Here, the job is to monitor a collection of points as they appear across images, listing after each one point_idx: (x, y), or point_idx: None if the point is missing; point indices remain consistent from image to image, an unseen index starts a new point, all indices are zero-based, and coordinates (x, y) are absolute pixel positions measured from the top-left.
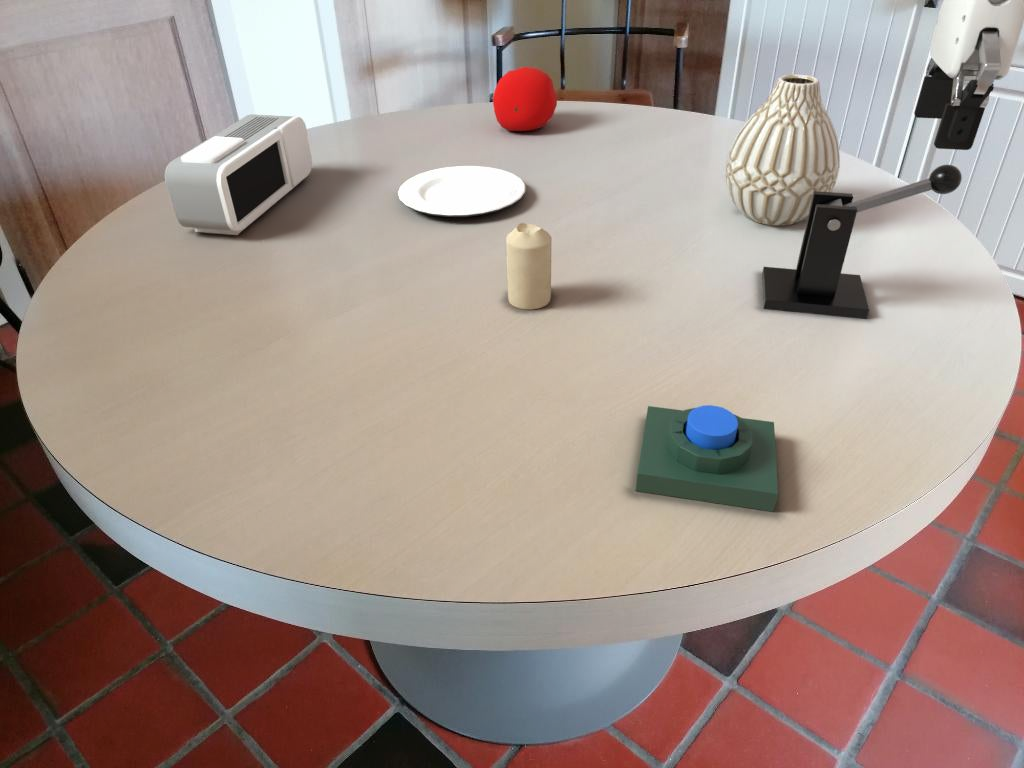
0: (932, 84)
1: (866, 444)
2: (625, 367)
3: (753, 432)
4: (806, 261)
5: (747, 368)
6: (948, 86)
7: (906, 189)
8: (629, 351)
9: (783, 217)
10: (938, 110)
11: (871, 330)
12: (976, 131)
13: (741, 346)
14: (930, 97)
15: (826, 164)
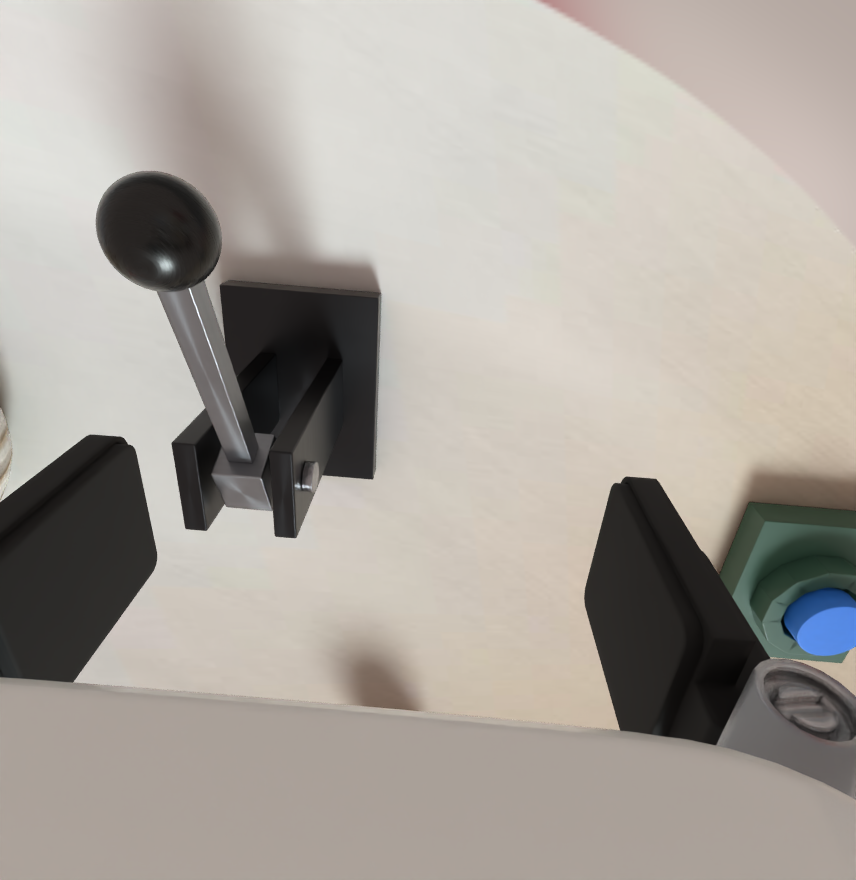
0: (49, 672)
1: (779, 376)
2: (568, 647)
3: (786, 547)
4: (328, 458)
5: (567, 510)
6: (26, 588)
7: (212, 349)
8: (528, 643)
9: (3, 417)
10: (124, 508)
11: (425, 292)
12: (685, 530)
13: (504, 512)
14: (96, 604)
15: None
